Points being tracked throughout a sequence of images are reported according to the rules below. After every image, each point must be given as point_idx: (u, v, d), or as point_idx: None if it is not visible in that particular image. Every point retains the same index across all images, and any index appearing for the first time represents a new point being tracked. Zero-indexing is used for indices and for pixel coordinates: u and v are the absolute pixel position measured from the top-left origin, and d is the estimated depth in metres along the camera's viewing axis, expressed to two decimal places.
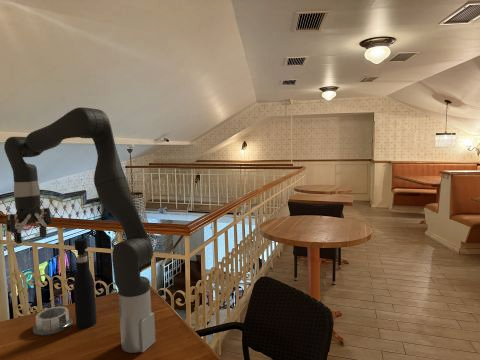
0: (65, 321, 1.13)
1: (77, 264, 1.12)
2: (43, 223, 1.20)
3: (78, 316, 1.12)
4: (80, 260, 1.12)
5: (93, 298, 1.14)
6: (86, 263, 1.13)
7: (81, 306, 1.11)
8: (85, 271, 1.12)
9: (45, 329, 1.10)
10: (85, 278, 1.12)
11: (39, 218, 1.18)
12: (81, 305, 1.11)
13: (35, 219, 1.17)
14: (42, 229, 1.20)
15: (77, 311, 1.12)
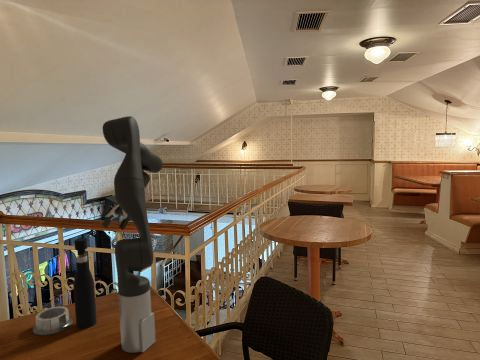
0: (65, 321, 1.13)
1: (77, 264, 1.12)
2: (125, 215, 1.26)
3: (78, 316, 1.12)
4: (80, 260, 1.12)
5: (93, 298, 1.14)
6: (86, 263, 1.13)
7: (81, 306, 1.11)
8: (85, 271, 1.12)
9: (45, 329, 1.10)
10: (85, 278, 1.12)
11: None
12: (81, 305, 1.11)
13: (122, 210, 1.28)
14: None
15: (77, 311, 1.12)
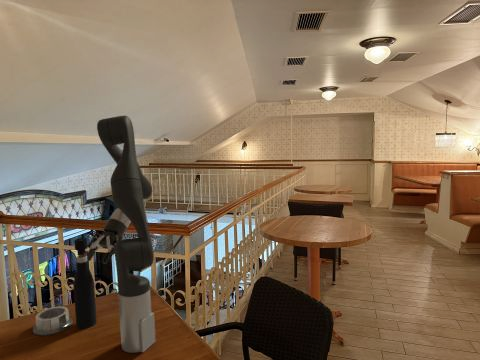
0: (65, 321, 1.13)
1: (77, 264, 1.12)
2: (109, 248, 1.18)
3: (78, 316, 1.12)
4: (80, 260, 1.12)
5: (93, 298, 1.14)
6: (86, 263, 1.13)
7: (81, 306, 1.11)
8: (85, 271, 1.12)
9: (45, 329, 1.10)
10: (85, 278, 1.12)
11: (108, 241, 1.20)
12: (81, 305, 1.11)
13: (106, 242, 1.21)
14: None
15: (77, 311, 1.12)
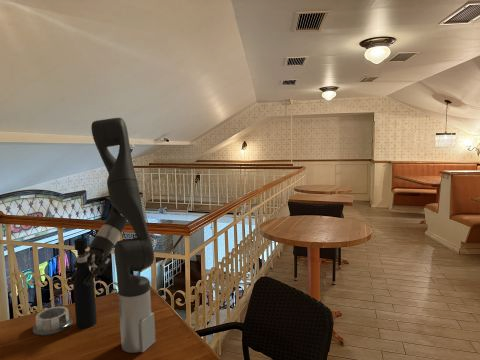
0: (65, 321, 1.13)
1: (77, 264, 1.12)
2: (91, 269, 1.13)
3: (78, 316, 1.12)
4: (80, 260, 1.12)
5: (93, 298, 1.14)
6: (86, 263, 1.13)
7: (81, 306, 1.11)
8: (85, 271, 1.12)
9: (45, 329, 1.10)
10: (85, 278, 1.12)
11: (92, 261, 1.15)
12: (81, 305, 1.11)
13: None
14: None
15: (77, 311, 1.12)
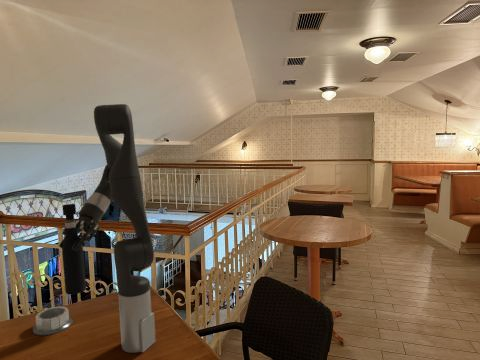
0: (65, 321, 1.13)
1: (65, 229, 1.11)
2: (80, 234, 1.12)
3: (67, 282, 1.11)
4: (69, 226, 1.11)
5: (82, 264, 1.13)
6: (74, 229, 1.12)
7: (70, 272, 1.11)
8: (73, 236, 1.11)
9: (45, 329, 1.10)
10: (73, 244, 1.11)
11: (81, 227, 1.14)
12: (70, 270, 1.11)
13: None
14: None
15: (66, 277, 1.11)
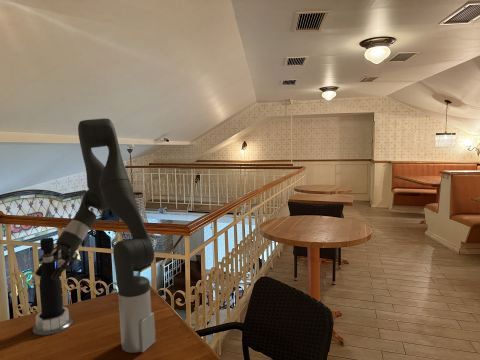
0: (65, 321, 1.13)
1: (43, 264, 1.11)
2: (59, 263, 1.12)
3: (44, 316, 1.12)
4: (46, 260, 1.11)
5: (59, 298, 1.13)
6: (52, 263, 1.12)
7: (47, 306, 1.11)
8: (51, 271, 1.11)
9: (45, 329, 1.10)
10: None
11: (59, 256, 1.13)
12: (47, 305, 1.11)
13: None
14: None
15: (43, 311, 1.11)
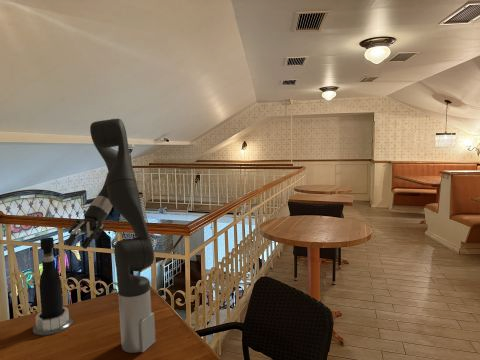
0: (65, 321, 1.13)
1: (43, 263, 1.11)
2: (88, 233, 1.22)
3: (44, 316, 1.12)
4: (46, 259, 1.11)
5: (59, 298, 1.14)
6: (52, 262, 1.12)
7: (47, 306, 1.11)
8: (51, 270, 1.12)
9: (45, 329, 1.10)
10: (51, 277, 1.11)
11: (88, 227, 1.23)
12: (47, 304, 1.11)
13: (86, 228, 1.24)
14: None
15: (43, 311, 1.12)
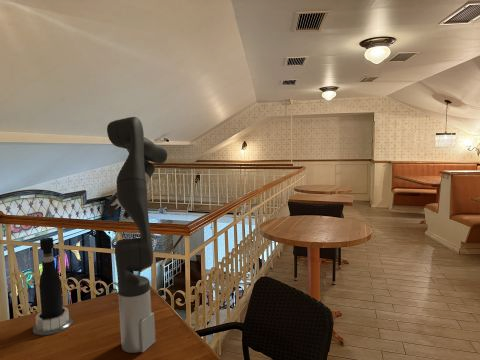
0: (65, 321, 1.13)
1: (43, 264, 1.11)
2: None
3: (44, 316, 1.12)
4: (46, 260, 1.11)
5: (59, 298, 1.14)
6: (52, 263, 1.12)
7: (47, 306, 1.11)
8: (50, 270, 1.12)
9: (45, 329, 1.10)
10: (51, 278, 1.11)
11: None
12: (47, 305, 1.11)
13: None
14: None
15: (43, 311, 1.11)
